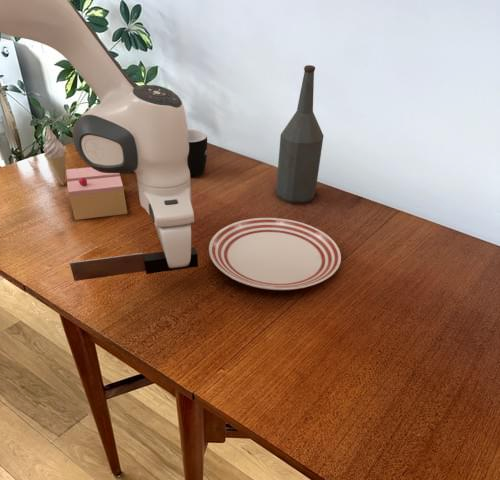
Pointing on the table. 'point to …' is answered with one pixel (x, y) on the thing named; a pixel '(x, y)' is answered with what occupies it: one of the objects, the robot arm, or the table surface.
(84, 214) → the cake
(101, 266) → the knife
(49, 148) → the ice cream cone
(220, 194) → the table surface
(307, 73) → the bottle
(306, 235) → the dinner plate
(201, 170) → the mug
